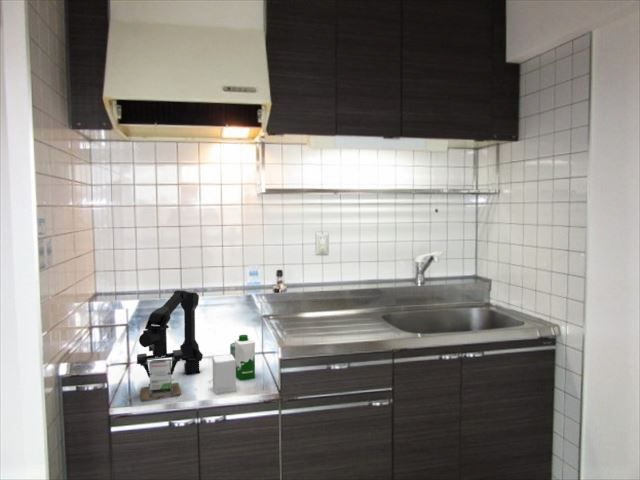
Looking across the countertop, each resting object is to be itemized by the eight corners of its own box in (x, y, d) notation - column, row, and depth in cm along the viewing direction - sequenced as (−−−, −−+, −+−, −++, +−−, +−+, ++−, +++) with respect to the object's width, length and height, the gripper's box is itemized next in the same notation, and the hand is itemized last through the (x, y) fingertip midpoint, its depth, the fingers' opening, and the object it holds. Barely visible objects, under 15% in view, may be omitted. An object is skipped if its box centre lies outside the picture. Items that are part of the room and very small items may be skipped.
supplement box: (236, 393, 203) (236, 359, 202) (215, 396, 200) (215, 362, 199) (232, 386, 212) (232, 353, 211) (212, 389, 209) (212, 356, 208)
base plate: (178, 384, 214) (178, 379, 214) (181, 395, 201) (181, 390, 201) (140, 389, 208) (140, 384, 208) (141, 401, 195) (141, 396, 195)
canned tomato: (244, 368, 236) (244, 346, 236) (228, 368, 236) (228, 346, 236) (247, 362, 244) (246, 342, 244) (232, 362, 244) (231, 342, 244)
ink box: (172, 384, 208) (171, 358, 207) (170, 389, 203) (170, 362, 202) (151, 386, 206) (151, 359, 206) (149, 390, 201) (149, 363, 201)
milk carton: (251, 374, 228) (250, 333, 226) (257, 380, 220) (257, 338, 218) (233, 377, 224) (232, 335, 222) (239, 383, 216) (238, 340, 214)
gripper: (180, 334, 214) (180, 367, 215) (136, 338, 207) (137, 373, 208) (182, 340, 204) (183, 375, 205) (136, 345, 197) (137, 381, 198)
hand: (160, 376), depth 204 cm, fingers closed on ink box, 9 cm apart
